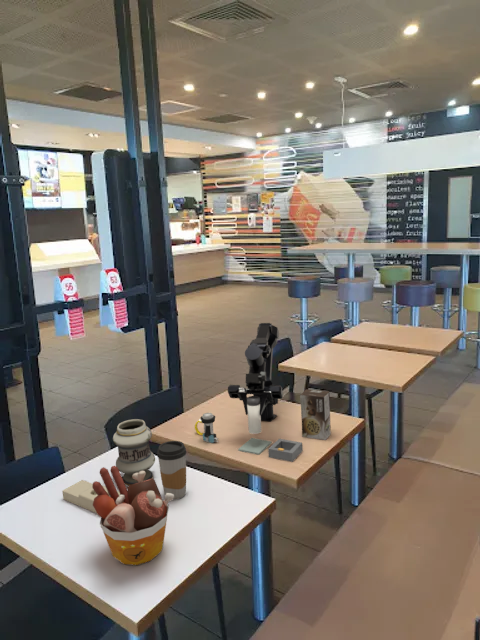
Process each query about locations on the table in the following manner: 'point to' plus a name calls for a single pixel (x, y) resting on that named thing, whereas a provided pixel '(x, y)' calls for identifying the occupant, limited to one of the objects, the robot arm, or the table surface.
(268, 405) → the robot arm
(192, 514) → the table surface
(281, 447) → the grey square holder
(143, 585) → the table surface
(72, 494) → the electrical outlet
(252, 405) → the white capped cylinder
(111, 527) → the bucket of meat
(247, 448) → the rubber mat
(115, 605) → the table surface
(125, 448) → the apothecary jar
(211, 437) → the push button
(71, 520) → the table surface
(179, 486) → the coffee cup
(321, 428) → the coffee box
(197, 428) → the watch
